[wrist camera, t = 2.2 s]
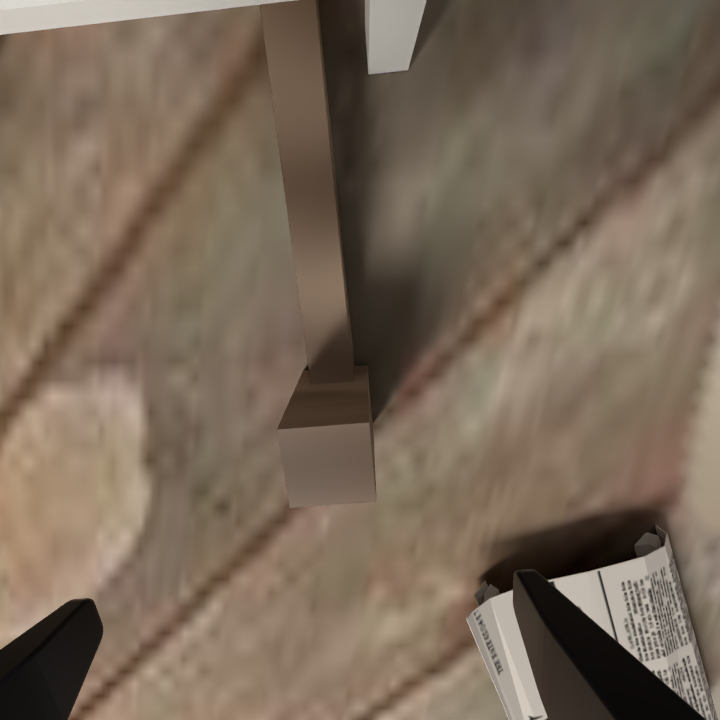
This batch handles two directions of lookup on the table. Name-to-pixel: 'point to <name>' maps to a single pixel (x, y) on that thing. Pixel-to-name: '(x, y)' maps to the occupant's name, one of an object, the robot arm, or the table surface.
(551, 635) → the robot arm
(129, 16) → the low shelf
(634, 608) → the newspaper
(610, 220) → the table surface
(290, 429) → the tan post with foot
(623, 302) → the table surface
